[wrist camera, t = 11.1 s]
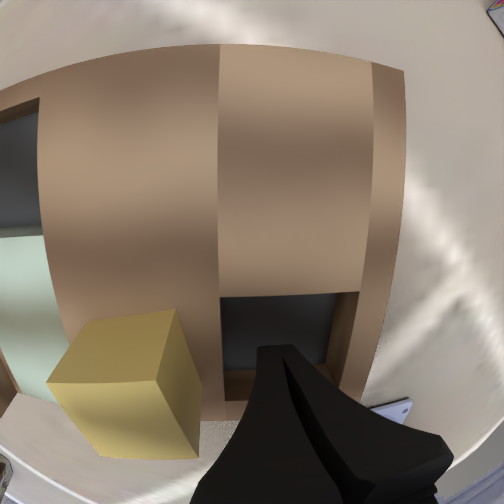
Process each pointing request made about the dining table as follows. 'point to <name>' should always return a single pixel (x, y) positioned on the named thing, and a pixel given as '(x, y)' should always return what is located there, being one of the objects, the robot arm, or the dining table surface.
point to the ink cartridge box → (498, 14)
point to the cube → (132, 387)
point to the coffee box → (4, 475)
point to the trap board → (202, 209)
